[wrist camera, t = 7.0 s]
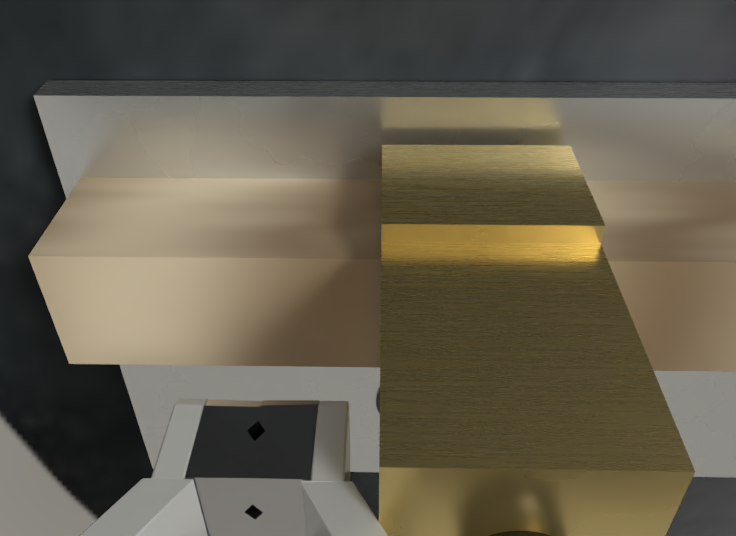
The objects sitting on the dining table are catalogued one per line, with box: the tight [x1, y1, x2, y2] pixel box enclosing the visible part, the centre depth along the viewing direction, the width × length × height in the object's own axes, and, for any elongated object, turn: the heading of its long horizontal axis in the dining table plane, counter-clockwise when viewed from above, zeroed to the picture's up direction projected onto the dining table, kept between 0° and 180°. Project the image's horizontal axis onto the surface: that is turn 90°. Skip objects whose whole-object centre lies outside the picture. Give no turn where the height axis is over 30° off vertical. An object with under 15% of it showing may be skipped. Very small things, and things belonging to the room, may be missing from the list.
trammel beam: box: [28, 177, 736, 372], centre depth 15 cm, size 26×9×8 cm, turn 90°
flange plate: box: [33, 80, 736, 477], centre depth 19 cm, size 27×13×1 cm, turn 90°
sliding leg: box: [379, 145, 695, 536], centre depth 14 cm, size 4×10×9 cm, turn 0°
